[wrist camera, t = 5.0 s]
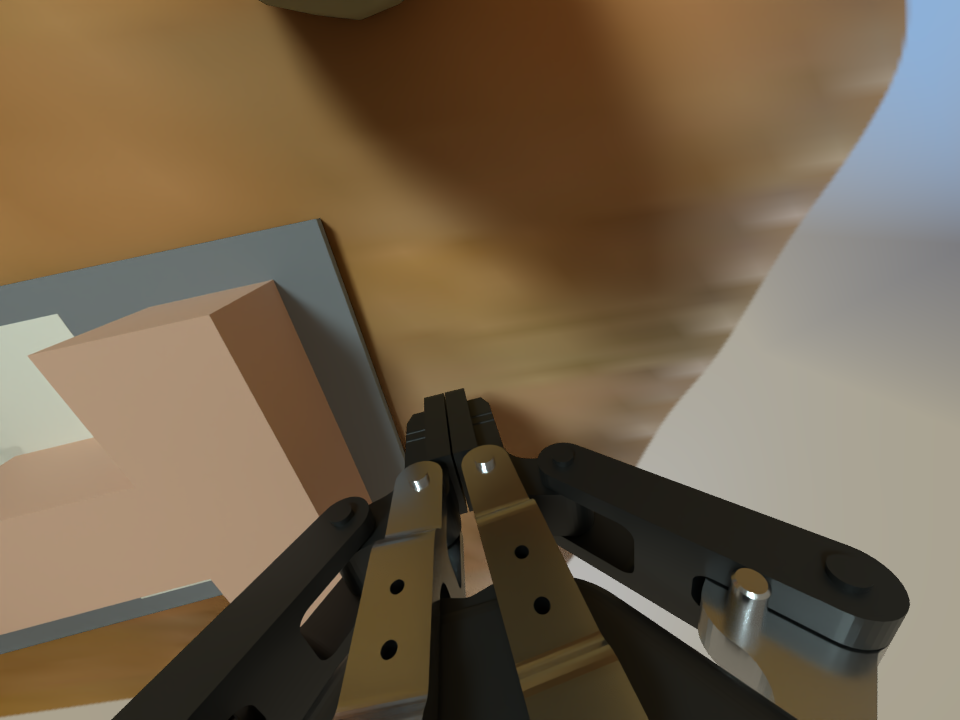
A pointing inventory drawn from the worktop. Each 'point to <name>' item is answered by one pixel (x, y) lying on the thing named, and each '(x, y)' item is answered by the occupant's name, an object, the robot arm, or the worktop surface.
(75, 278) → the mat
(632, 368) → the worktop surface
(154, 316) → the T-block
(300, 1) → the squeeze bottle
